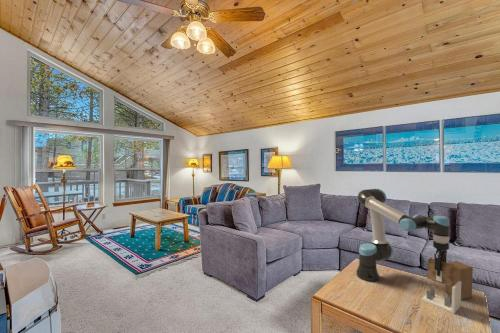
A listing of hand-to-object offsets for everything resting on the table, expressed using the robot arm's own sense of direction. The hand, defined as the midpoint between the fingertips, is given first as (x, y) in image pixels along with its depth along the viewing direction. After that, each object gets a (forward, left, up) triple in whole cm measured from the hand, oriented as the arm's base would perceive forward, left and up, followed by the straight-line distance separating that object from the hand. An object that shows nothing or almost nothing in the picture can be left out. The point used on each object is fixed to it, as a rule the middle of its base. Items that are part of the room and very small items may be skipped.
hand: (440, 279), depth 147 cm
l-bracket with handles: (0, 0, -15) cm, 15 cm away
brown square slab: (0, 0, -1) cm, 1 cm away
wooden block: (+4, +20, -15) cm, 25 cm away
